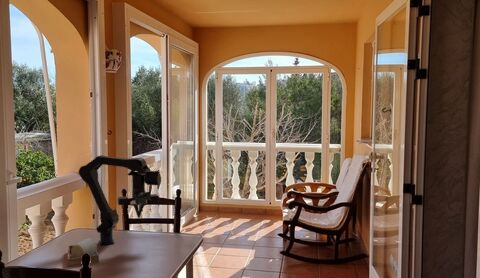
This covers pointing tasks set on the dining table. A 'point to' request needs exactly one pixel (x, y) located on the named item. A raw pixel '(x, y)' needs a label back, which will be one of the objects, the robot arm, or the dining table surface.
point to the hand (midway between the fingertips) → (138, 217)
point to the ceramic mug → (84, 248)
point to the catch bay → (78, 260)
